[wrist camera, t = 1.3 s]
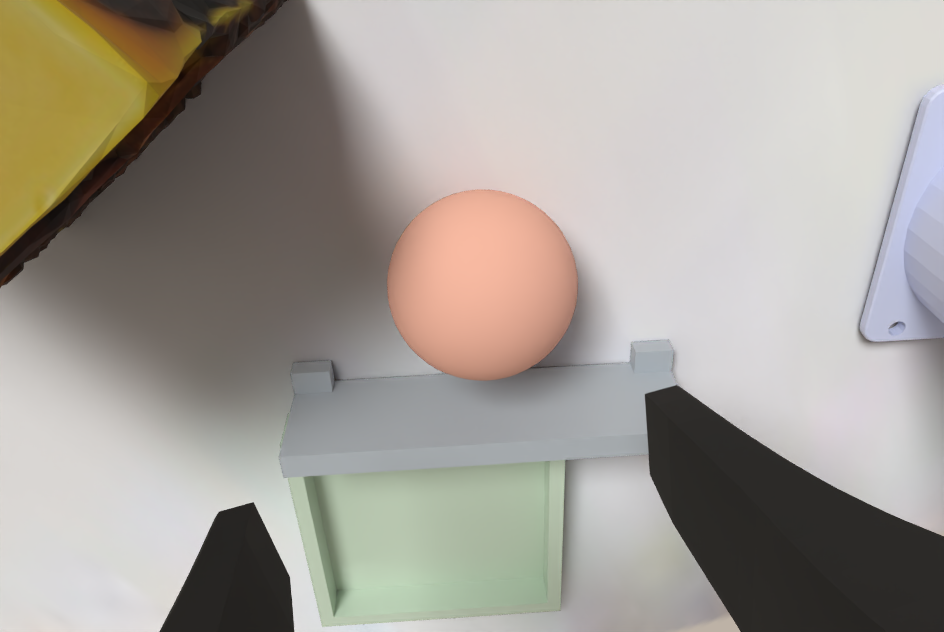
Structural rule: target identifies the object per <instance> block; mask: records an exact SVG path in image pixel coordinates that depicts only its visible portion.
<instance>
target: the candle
mask: <svg viewBox="0 0 944 632" xmlns="http://www.w3.org/2000/svg"><path fill="white" fill-rule="evenodd" d="M285 1H287V0H0V288H1V286H2V285H6V284H7V283H9V282H10V281H11V280H12V279H13V278H14V277H15V276H17V275H18V274H19V273H20V272H21V271H22V270H23V266H24V263H25V262H27V261H29V260H32V259H34V258H36V257H38V256H39V252H40V251H42V250H44V249H45V248H47V246H48V244H49V243H50V240H52V239H54V238H55V237H56V235H57V233H58V232H60V231H61V230H62V229H64V228H65V227H69V226H70V225H71V224H72V223H73V222H74V221H75V219H76V218H77V217H79V216H81V213H82V212H83V210H84V209H85V208H86V207H87V205H88V204H89V203H90V202H91V201H92V200H93V199H94V198H96V197H97V196H98V195H99V194H100V193H101V192H102V191H103V190H105V189H106V188H107V187H108V186H109V185H110V184H111V183H112V182H114V180H115V178H117V177H118V176H120V175H122V174H123V173H124V172H125V169H126V167H127V166H128V165H129V164H131V163H132V162H133V161H134V160H136V159H137V158H138V157H139V156H140V155H141V153H142V152H143V151H144V150H145V149H146V147H147V146H148V145H149V143H150V142H152V141H153V140H154V139H155V137H156V136H157V135H158V134H159V133H160V132H161V131H162V130H163V129H165V128H166V127H167V126H168V125H169V124H170V123H171V122H172V121H173V120H174V118H175V117H176V116H177V115H178V114H180V113H181V112H182V111H183V110H185V99H186V98H195V97H197V96H199V95H200V94H201V81H202V80H203V78H204V77H205V76H206V74H207V73H208V72H209V71H211V70H212V69H213V68H214V67H215V66H216V65H217V64H218V63H219V62H220V61H221V60H222V59H223V58H224V57H225V56H226V55H227V54H228V53H229V52H231V51H232V50H233V49H234V48H235V47H236V46H237V45H238V44H240V43H241V42H242V41H243V40H245V39H246V38H247V37H248V36H249V35H250V34H251V33H252V32H253V31H254V30H255V29H257V28H258V27H260V26H262V25H263V24H264V23H265V21H267V20H268V19H269V18H270V17H271V16H273V15H274V14H275V13H276V11H277V10H278V8H279V7H281V6H282V4H283V2H285Z"/></svg>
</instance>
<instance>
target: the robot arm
mask: <svg viewBox="0 0 944 632" xmlns="http://www.w3.org/2000/svg"><path fill="white" fill-rule="evenodd" d="M895 322H898V323H897V325H896V326H894V327H893V328H890V329H889V327H890V326H891V325H892V324H893V323H895ZM860 331H861V333H862V334H863V335H864V336H865V338H866V339H868V340H869V341H872V342H884V341H901V340H917V339H933V338H944V84H942V85H938V86H935V87H934V88H932V89H931V90H929V91H928V92H927V93H926V95H925V96H924V97H923V99H922V101H921V103H920V107H919V110H918V114H917V118H916V121H915V125H914V129H913V132H912V136H911V140H910V143H909V147H908V151H907V154H906V158H905V162H904V165H903V169H902V173H901V176H900V180H899V184H898V187H897V191H896V195H895V198H894V202H893V206H892V209H891V213H890V216H889V220H888V224H887V227H886V231H885V235H884V238H883V242H882V246H881V249H880V253H879V257H878V260H877V264H876V268H875V271H874V275H873V279H872V282H871V286H870V290H869V293H868V297H867V301H866V304H865V308H864V312H863V315H862V319H861V323H860ZM645 407H646V422H647V437H648V452H649V467H650V475H651V477H652V480H653V482H654V484H655V486H656V488H657V491H658V493H659V495H660V497H661V499H662V501H663V504H664V506H665V508H666V510H667V512H668V514H669V516H670V518H671V520H672V522H673V524H674V526H675V527H676V529H677V530H678V532H679V534H680V535H681V537H682V539H683V540H684V542H685V543H686V545H687V547H688V548H689V550H690V551H691V553H692V555H693V556H694V558H695V560H696V561H697V563H698V564H699V566H700V567H701V569H702V571H703V572H704V574H705V575H706V577H707V579H708V580H709V582H710V583H711V585H712V586H713V588H714V590H715V591H716V593H717V594H718V596H719V598H720V599H721V601H722V602H723V604H724V606H725V607H726V609H727V610H728V612H729V613H730V615H731V617H732V618H733V620H734V621H735V623H736V625H737V626H738V628H739V630H740V631H741V632H944V536H941V535H939V534H936V533H934V532H932V531H929V530H927V529H924V528H922V527H919V526H917V525H914V524H912V523H909V522H907V521H905V520H902V519H900V518H898V517H895V516H893V515H891V514H889V513H886V512H884V511H882V510H880V509H878V508H876V507H874V506H872V505H870V504H867V503H865V502H863V501H861V500H859V499H857V498H855V497H853V496H851V495H849V494H847V493H845V492H843V491H841V490H839V489H837V488H835V487H833V486H831V485H830V484H828V483H826V482H824V481H822V480H821V479H819V478H817V477H815V476H814V475H812V474H810V473H808V472H807V471H805V470H803V469H802V468H800V467H798V466H796V465H795V464H793V463H791V462H790V461H788V460H787V459H785V458H783V457H782V456H780V455H778V454H777V453H775V452H774V451H772V450H771V449H769V448H768V447H766V446H764V445H763V444H761V443H760V442H758V441H757V440H755V439H754V438H752V437H750V436H749V435H747V434H746V433H745V432H743V431H742V430H740V429H739V428H737V427H736V426H734V425H733V424H731V423H730V422H728V421H727V420H726V419H724V418H723V417H721V416H720V415H718V414H717V413H716V412H714V411H713V410H711V409H710V408H709V407H707V406H706V405H704V404H703V403H702V402H700V401H699V400H697V399H696V398H695V397H693V396H692V395H691V394H689V393H688V392H686V391H685V390H683V389H682V388H680V387H679V386H677V385H675V386H671V387H667V388H664V389H660V390H657V391H653V392H649V393H646V394H645ZM160 632H294V622H293V608H292V597H291V585H290V577H289V575H288V572H287V570H286V568H285V566H284V564H283V562H282V560H281V558H280V556H279V554H278V552H277V550H276V548H275V546H274V544H273V542H272V539H271V537H270V535H269V533H268V531H267V529H266V527H265V525H264V523H263V521H262V519H261V517H260V515H259V513H258V511H257V508H256V506H255V504H254V502H253V503H249V504H245V505H242V506H238V507H235V508H231V509H227V510H224V511H220V512H219V513H218V514H217V516H216V517H215V519H214V521H213V524H212V526H211V528H210V530H209V532H208V534H207V537H206V539H205V541H204V543H203V545H202V547H201V550H200V552H199V554H198V556H197V558H196V560H195V562H194V564H193V566H192V569H191V571H190V573H189V575H188V577H187V579H186V581H185V583H184V585H183V587H182V589H181V591H180V593H179V595H178V597H177V599H176V601H175V603H174V605H173V607H172V609H171V611H170V612H169V614H168V616H167V618H166V620H165V622H164V624H163V626H162V628H161V630H160Z"/></svg>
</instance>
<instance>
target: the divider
mask: <svg viewBox="0 0 944 632" xmlns="http://www.w3.org/2000/svg"><path fill="white" fill-rule="evenodd" d="M673 354H674V349H673V347H672V345H671V343H670V341H669V340H656V341H640V342H632V343H631V355H630V362H628V363H612V364H596V365H580V366H564V367H548V368H532V369H527V370H525V371H523V372H521V373H518V374H516V375H513V376H510V377H507V378H502V379H497V380H488V381H478V380H468V379H463V378H459V377H455V376H452V375H449V374H435V375H419V376H403V377H386V378H370V379H354V380H338V381H335V380H334V374H333V368H332V363H331V361H314V362H298V363H293V366H292V369H291V373H290V375H291V380H292V385H293V389H294V394H295V395H294V399H293V403H292V407H291V411H290V414H289V418H288V422H287V426H286V430H285V434H284V438H283V442H282V446H281V450H280V454H279V460H280V465H281V469H282V473H283V477H284V478H291V477H306V476H322V475H337V474H353V473H368V472H384V471H399V470H415V469H431V468H446V467H462V466H477V465H493V464H508V463H524V462H540V461H555V460H571V459H586V458H602V457H617V456H633V455H649V452H648V437H647V422H646V407H645V394H646V393H649V392H653V391H657V390H660V389H664V388H667V387H671V386H675V385H677V386H678V384H677V382H676V380H675V377H674V375H673V373H672V363H673Z"/></svg>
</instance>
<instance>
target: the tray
mask: <svg viewBox="0 0 944 632" xmlns="http://www.w3.org/2000/svg"><path fill="white" fill-rule="evenodd" d="M289 414H290V413H288V416H287V420H286V424H285V428H284V432H283V436H282V440H281V444H280V448H281V446H282V442H283V438H284V434H285V430H286V426H287V422H288V418H289ZM564 481H565V460H555V461H540V462H524V463H508V464H493V465H477V466H462V467H446V468H431V469H415V470H399V471H384V472H368V473H353V474H337V475H322V476H306V477H291V478H288V482H289V486H290V490H291V495H292V499H293V503H294V508H295V512H296V516H297V520H298V525H299V529H300V533H301V538H302V542H303V546H304V550H305V555H306V559H307V563H308V568H309V572H310V576H311V581H312V585H313V589H314V593H315V598H316V602H317V606H318V611H319V615H320V619H321V623H322V627H328V626H342V625H357V624H372V623H387V622H401V621H416V620H431V619H446V618H460V617H475V616H490V615H505V614H519V613H534V612H549V611H560V609H561V577H562V545H563V513H564Z"/></svg>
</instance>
